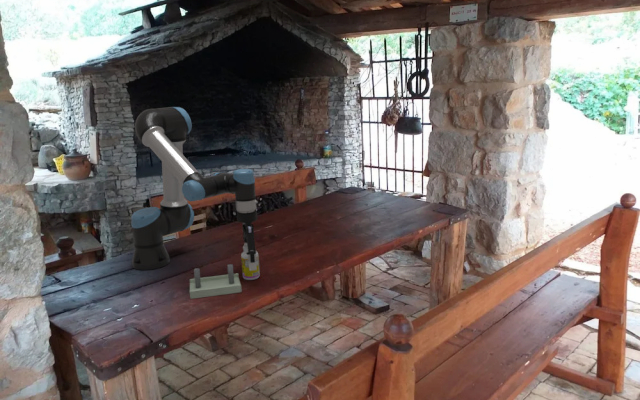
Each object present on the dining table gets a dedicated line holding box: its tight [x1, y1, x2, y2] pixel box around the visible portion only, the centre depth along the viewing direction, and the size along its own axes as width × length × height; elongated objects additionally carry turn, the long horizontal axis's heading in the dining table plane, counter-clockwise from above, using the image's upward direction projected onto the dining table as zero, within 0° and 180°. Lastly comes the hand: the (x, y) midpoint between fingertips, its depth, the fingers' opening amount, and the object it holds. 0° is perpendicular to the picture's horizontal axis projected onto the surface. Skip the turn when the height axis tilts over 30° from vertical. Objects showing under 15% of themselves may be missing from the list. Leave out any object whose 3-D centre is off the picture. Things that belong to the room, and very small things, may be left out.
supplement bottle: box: [240, 245, 261, 281], centre depth 192 cm, size 7×7×13 cm
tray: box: [189, 263, 243, 300], centre depth 182 cm, size 18×12×8 cm, turn 104°
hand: (250, 264), depth 192 cm, fingers open, 13 cm apart
